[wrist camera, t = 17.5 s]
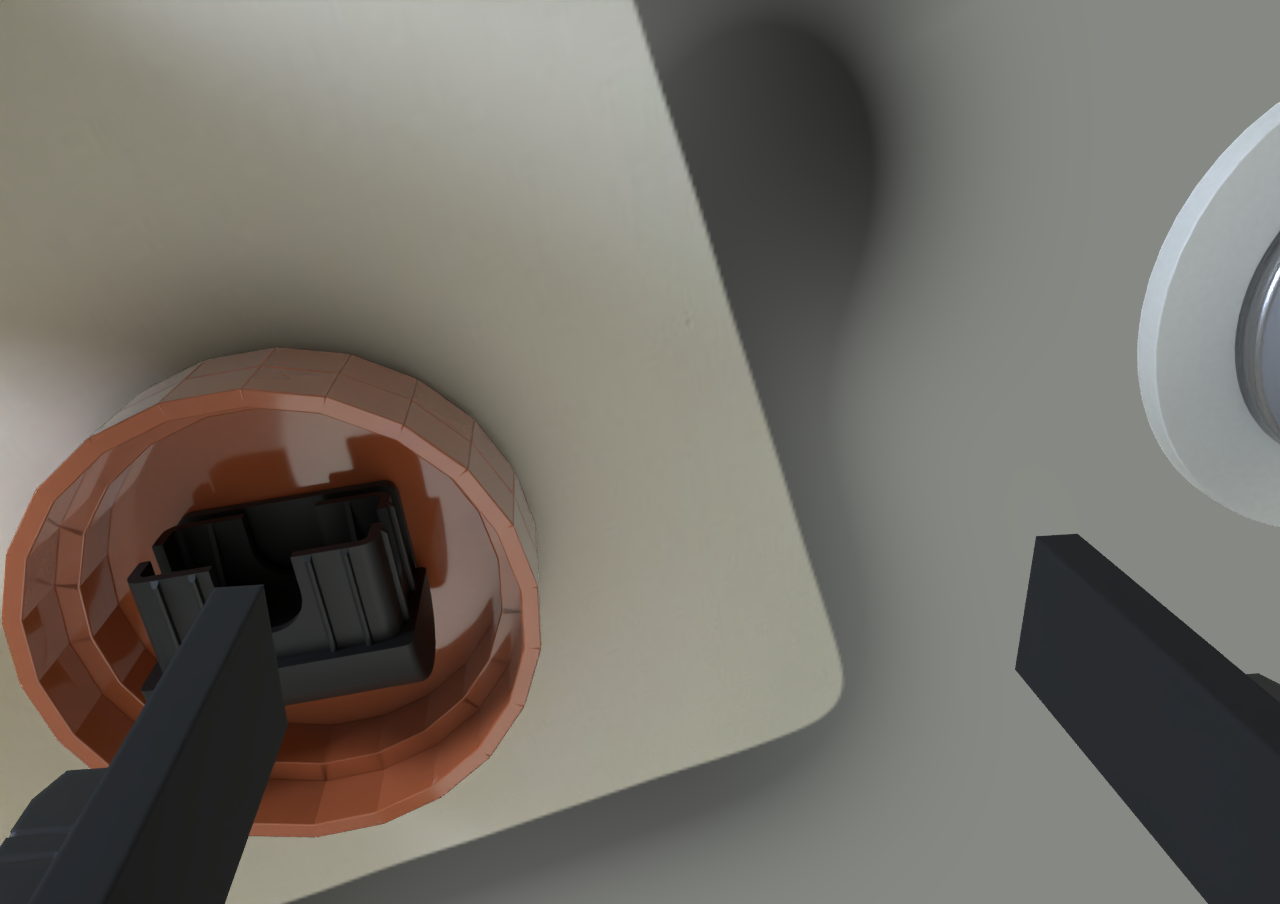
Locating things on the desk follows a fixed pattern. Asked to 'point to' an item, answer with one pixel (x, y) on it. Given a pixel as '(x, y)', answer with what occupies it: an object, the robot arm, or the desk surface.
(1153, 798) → the robot arm
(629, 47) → the desk surface
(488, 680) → the ceramic bowl
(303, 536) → the end cap
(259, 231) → the desk surface
